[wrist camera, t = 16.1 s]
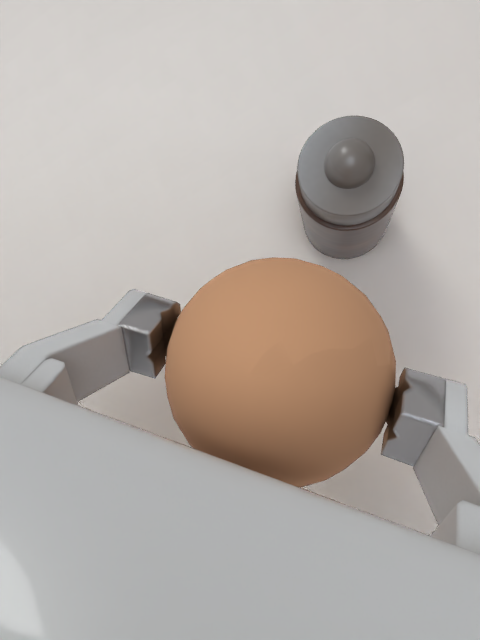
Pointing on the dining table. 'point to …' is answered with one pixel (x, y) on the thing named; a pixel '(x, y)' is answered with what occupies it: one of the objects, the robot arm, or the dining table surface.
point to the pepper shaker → (349, 185)
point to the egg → (281, 370)
